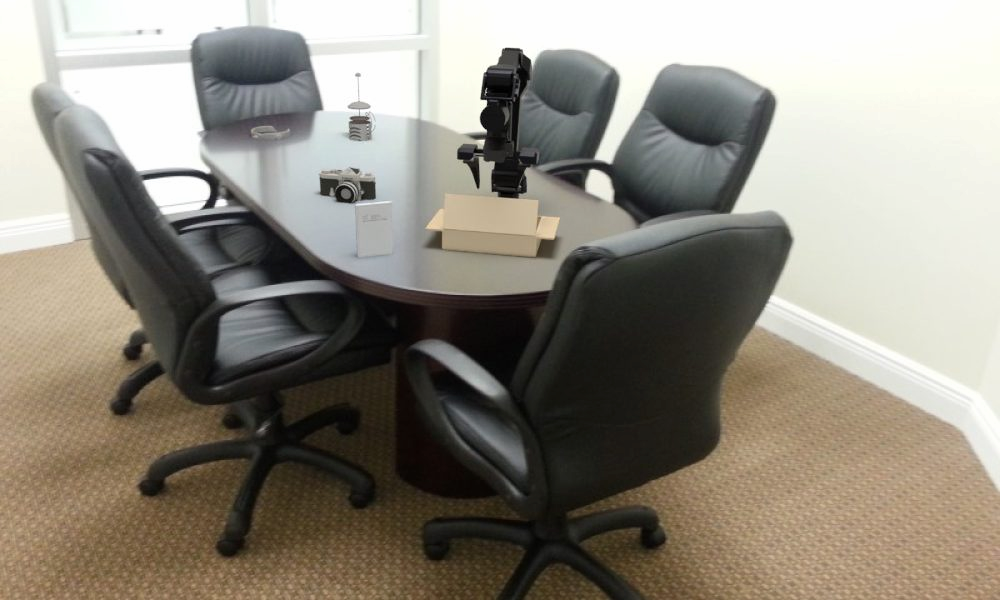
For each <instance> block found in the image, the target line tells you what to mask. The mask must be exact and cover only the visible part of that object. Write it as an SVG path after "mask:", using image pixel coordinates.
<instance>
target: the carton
mask: <svg viewBox="0 0 1000 600" xmlns="http://www.w3.org/2000/svg"><path fill="white" fill-rule="evenodd" d="M443 216H444V208H440V209H438V211H437V212H436V213H435V214H434V216H433V218H432V219H431V220H430V222H429V223H428V224H427V226H426V227H425V231H434V232H441V249H442V250H443V249H444V251H453V250H457V251H456V252H464V251H467V252H466V253H474V252H477V253H478V254H485V253H488V254H487V255H501V256H514V257H524V258H537V255H538V251H539V248H540V245H541V242H542V240H548V241H550V240H552V241H554V240H555V238H556V234H557V231H558V228H559V223H560V220H561V217H559V216H558V217H555V216H543V215H537V227H536V236H535V235H522V234H509V233H495V232H482V231H469V230H456V229H443Z"/></svg>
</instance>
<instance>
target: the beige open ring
mask: <svg viewBox="0 0 1000 600" xmlns="http://www.w3.org/2000/svg"><path fill="white" fill-rule="evenodd" d="M258 132H259V133H258ZM263 132H264V133H263ZM265 132H266V133H265ZM268 132H269V133H268ZM291 136H292V135H291V130H290V128H287V129H286V130H285V131H279V132H278V131H277V129H276V128H274V126H272V125H261V126H256V127H252V128H251V129H250V137H251V139H252V140H270V141H271V140H273V141H274V140H275V141H282V140H284V139H288V138H289V137H291Z"/></svg>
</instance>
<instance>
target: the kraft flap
mask: <svg viewBox="0 0 1000 600" xmlns="http://www.w3.org/2000/svg"><path fill="white" fill-rule="evenodd" d="M539 200H540V199H527V198H526V199H525V198H519V199H514V198H500V197H498V196H487V195H486V196H484V195H472V194H471V195H469V194H468V195H467V194H454V193H444V202H443V203H444V206H443V209H444V216H443V229H456V230H469V231H482V232H495V233H509V234H522V235H535V236H536V227H537V216H539V215H538V213H539V212H538V211H539Z"/></svg>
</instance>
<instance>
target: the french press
mask: <svg viewBox="0 0 1000 600" xmlns="http://www.w3.org/2000/svg"><path fill="white" fill-rule="evenodd" d="M354 76H355V77H357V78H359V77H362V75H361V73H360V72H356V73H355V74H354ZM359 86H360V85H359V80H357V94H358V96H357V97H358V98H360V87H359ZM346 108H347V109H349V110H358V115H352V116H349V120H350V121H348V129H349V130H348V136H349V137H348V139H349V140H352V141H353V142H359V140H360V142H367V141H371V140H372V135H373V134H372V133H373V132H374V131H375V129H376V126H374V128H373V120H372V117H373V119H374V121H376V118H375V115H374V113H372V112H371V111H369V109H370V108H372V106H371V105H370V103H368V102H364V101H361V100H357V101H352V102H351V103H350V104H348V105H347V107H346ZM361 110H368V111H366V112H365V115H361V112H360V111H361ZM371 115H372V116H371ZM372 128H373V130H372ZM356 139H357V140H356Z"/></svg>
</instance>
